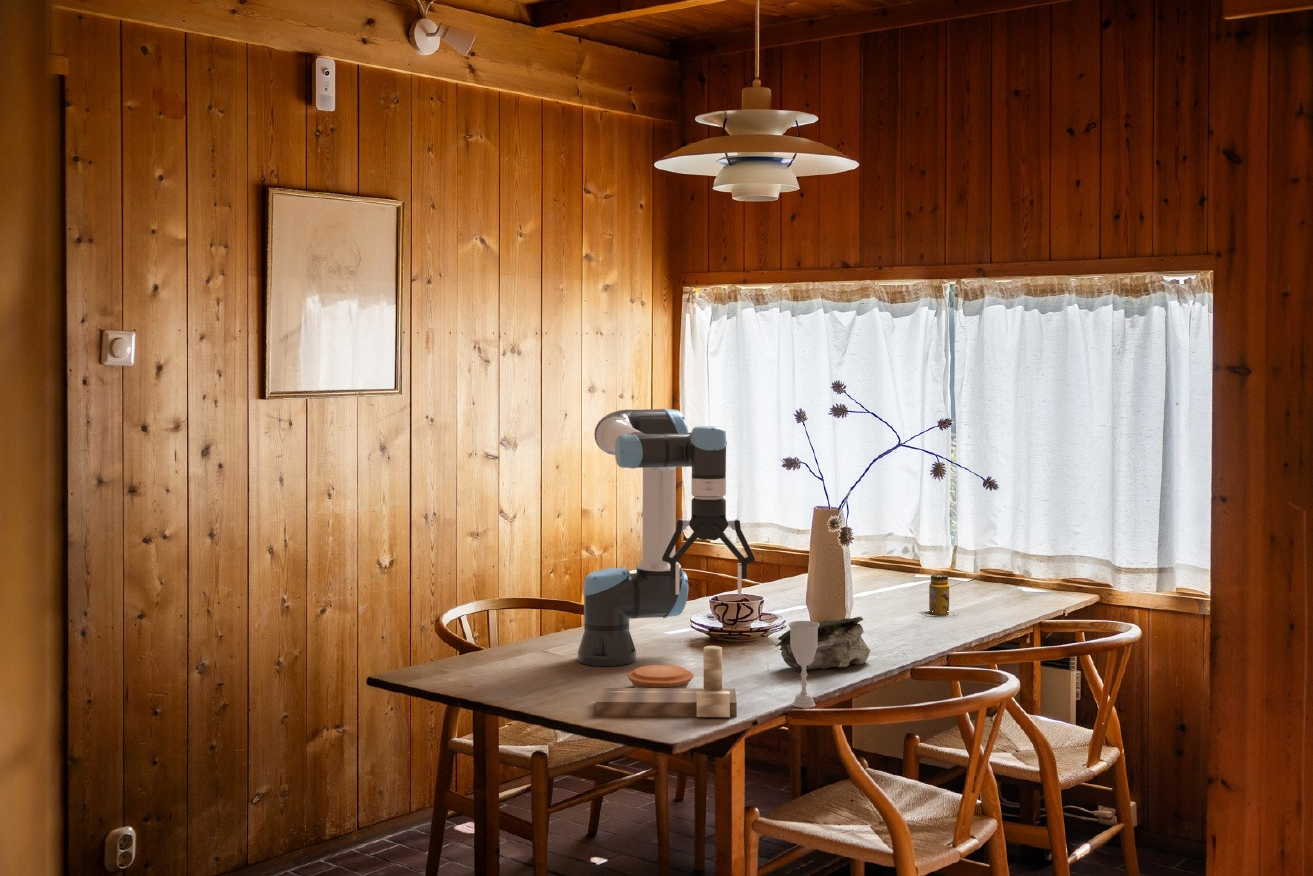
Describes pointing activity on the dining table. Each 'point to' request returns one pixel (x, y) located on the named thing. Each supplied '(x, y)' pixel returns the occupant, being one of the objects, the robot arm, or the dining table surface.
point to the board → (653, 702)
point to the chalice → (803, 654)
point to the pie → (660, 677)
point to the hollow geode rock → (831, 645)
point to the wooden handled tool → (713, 686)
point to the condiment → (938, 596)
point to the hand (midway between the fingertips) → (708, 594)
